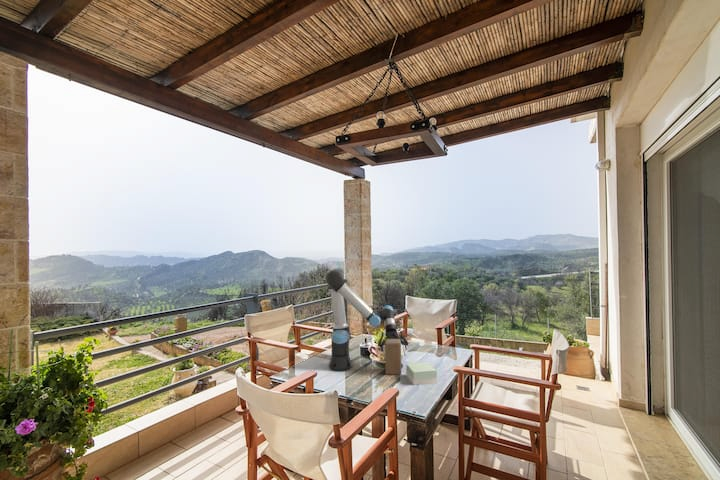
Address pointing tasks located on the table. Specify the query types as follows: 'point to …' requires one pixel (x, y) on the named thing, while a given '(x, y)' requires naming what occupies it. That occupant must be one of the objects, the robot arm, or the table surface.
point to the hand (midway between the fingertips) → (394, 355)
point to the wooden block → (393, 356)
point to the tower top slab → (421, 370)
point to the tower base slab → (421, 380)
